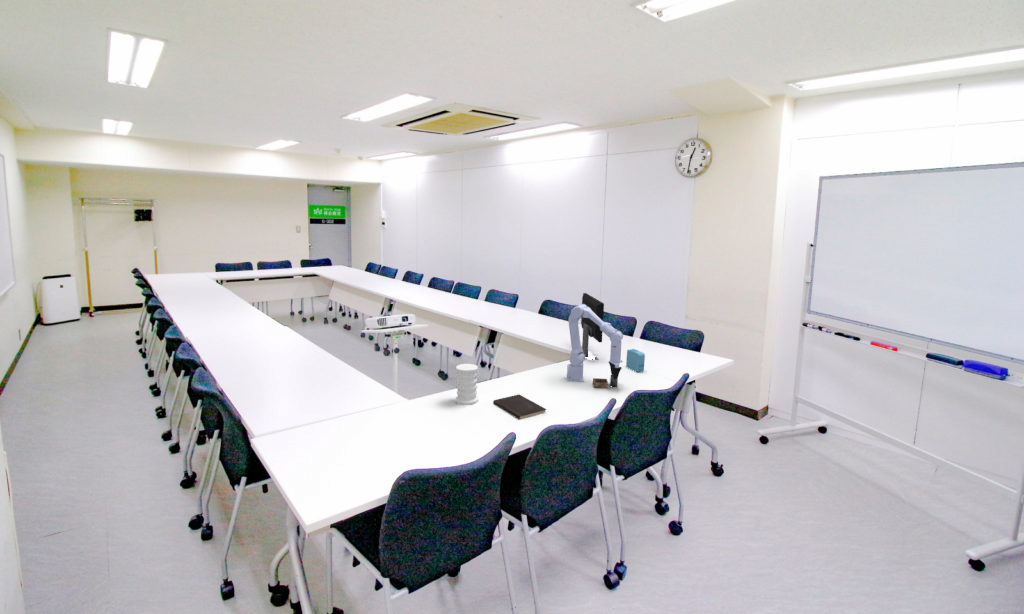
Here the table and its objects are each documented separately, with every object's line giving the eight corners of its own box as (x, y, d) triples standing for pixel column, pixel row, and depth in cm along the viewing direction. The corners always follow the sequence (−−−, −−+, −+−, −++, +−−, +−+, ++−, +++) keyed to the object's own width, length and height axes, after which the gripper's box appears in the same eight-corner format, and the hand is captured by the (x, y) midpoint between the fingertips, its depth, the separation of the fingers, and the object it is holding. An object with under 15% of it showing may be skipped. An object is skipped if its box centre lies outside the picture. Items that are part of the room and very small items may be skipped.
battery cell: (610, 387, 274) (611, 375, 273) (609, 385, 278) (610, 373, 277) (617, 387, 274) (618, 375, 272) (616, 385, 278) (617, 373, 276)
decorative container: (478, 396, 257) (479, 363, 253) (477, 405, 245) (477, 370, 242) (456, 396, 257) (456, 363, 253) (454, 404, 245) (454, 370, 242)
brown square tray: (594, 387, 273) (594, 382, 272) (592, 383, 280) (592, 378, 279) (607, 388, 272) (608, 383, 272) (606, 383, 280) (606, 378, 279)
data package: (643, 372, 302) (645, 353, 300) (637, 372, 300) (639, 354, 298) (631, 366, 313) (632, 348, 310) (625, 367, 311) (627, 349, 309)
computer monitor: (604, 364, 315) (607, 303, 308) (591, 364, 314) (594, 303, 307) (586, 347, 355) (588, 292, 348) (574, 347, 354) (577, 293, 347)
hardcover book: (519, 398, 257) (519, 394, 256) (546, 413, 238) (546, 409, 238) (493, 404, 248) (493, 400, 247) (519, 420, 229) (519, 416, 229)
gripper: (625, 356, 265) (623, 380, 267) (620, 349, 279) (619, 372, 282) (612, 356, 265) (610, 380, 268) (608, 349, 279) (607, 372, 282)
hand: (614, 376), depth 275 cm, fingers open, 7 cm apart
